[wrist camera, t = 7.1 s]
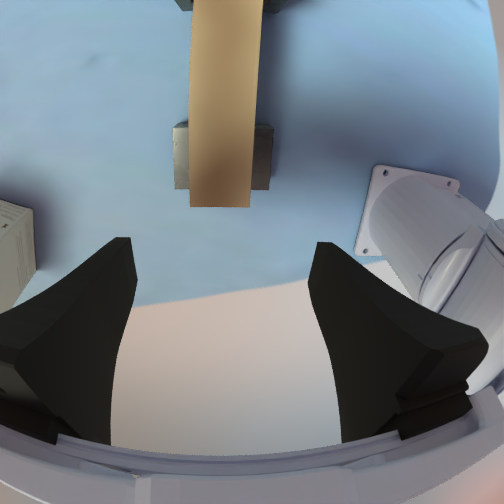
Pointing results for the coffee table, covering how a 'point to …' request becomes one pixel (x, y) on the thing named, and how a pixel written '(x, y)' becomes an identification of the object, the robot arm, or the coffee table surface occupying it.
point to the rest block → (259, 162)
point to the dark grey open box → (271, 3)
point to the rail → (223, 100)
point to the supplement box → (15, 252)
